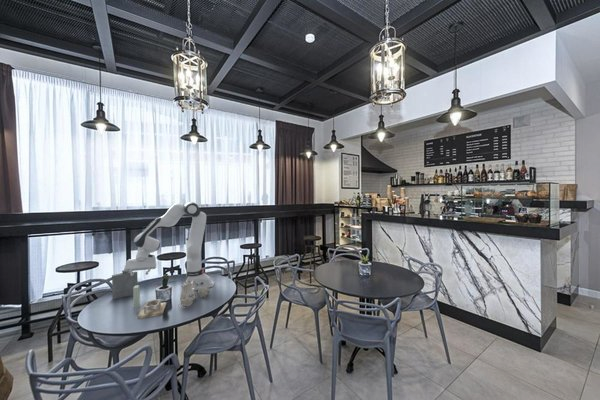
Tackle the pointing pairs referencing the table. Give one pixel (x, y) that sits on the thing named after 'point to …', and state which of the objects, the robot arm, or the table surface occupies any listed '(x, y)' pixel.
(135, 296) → the slat
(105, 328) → the table surface
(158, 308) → the end cap stand
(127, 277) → the hip flask
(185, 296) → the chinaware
